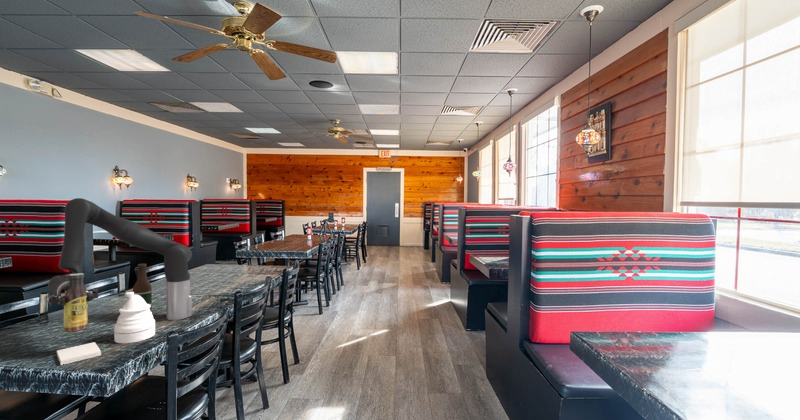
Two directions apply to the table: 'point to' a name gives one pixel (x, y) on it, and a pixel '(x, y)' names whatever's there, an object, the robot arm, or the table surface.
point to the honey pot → (134, 321)
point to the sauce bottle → (75, 304)
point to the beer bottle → (143, 285)
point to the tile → (78, 353)
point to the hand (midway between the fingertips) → (77, 300)
